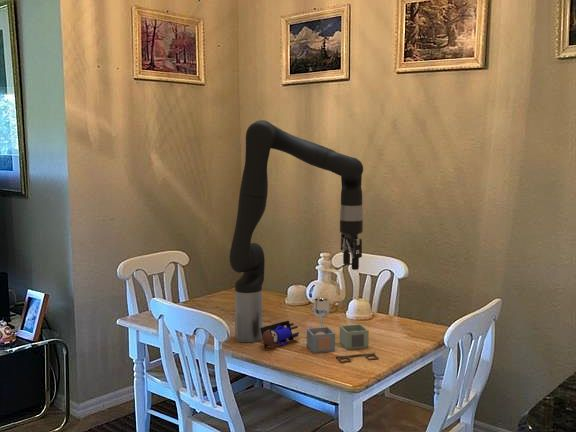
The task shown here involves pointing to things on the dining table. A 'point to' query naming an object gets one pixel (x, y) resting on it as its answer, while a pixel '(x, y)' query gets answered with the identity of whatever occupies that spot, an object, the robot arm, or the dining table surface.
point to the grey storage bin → (320, 340)
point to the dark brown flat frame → (356, 356)
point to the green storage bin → (354, 337)
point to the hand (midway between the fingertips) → (350, 266)
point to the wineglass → (321, 308)
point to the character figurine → (278, 333)
